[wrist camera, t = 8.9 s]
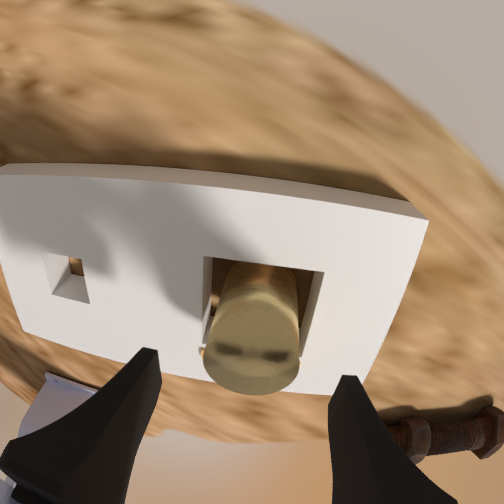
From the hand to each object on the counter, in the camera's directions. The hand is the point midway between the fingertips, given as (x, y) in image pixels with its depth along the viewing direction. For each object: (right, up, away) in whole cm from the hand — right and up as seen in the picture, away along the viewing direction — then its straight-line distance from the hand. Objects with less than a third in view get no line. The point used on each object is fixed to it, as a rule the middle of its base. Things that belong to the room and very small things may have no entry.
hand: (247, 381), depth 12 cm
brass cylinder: (+1, +3, +6) cm, 7 cm away
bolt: (+17, -11, +12) cm, 24 cm away
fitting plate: (-4, +4, +6) cm, 8 cm away
